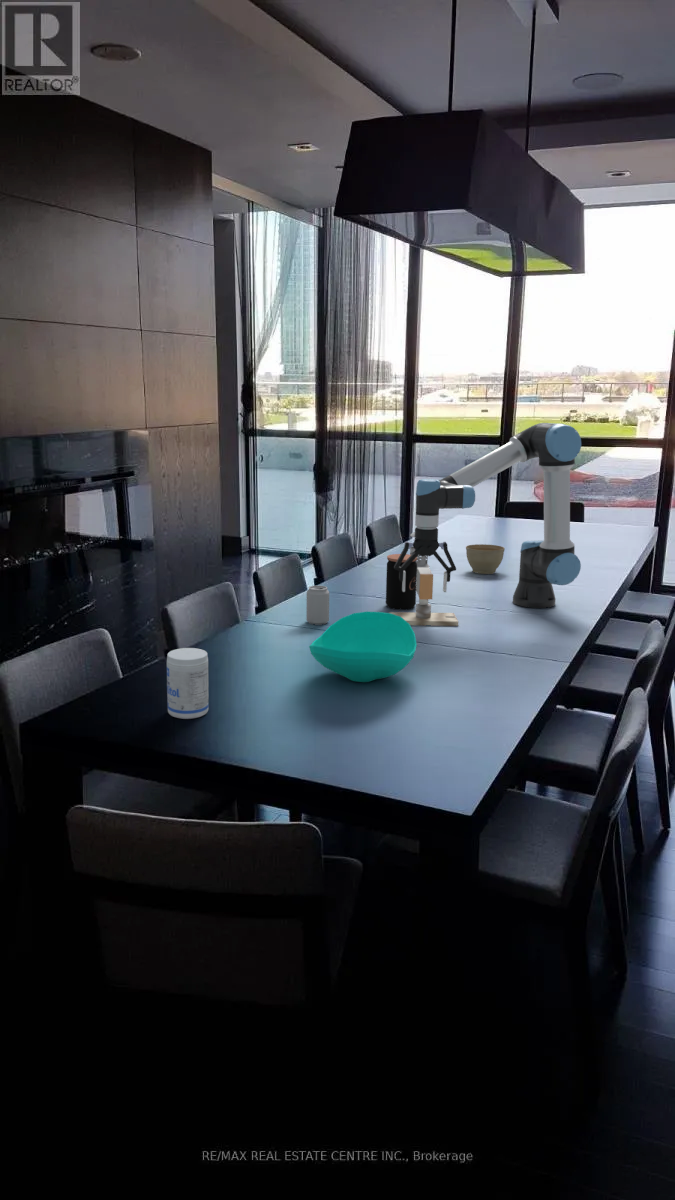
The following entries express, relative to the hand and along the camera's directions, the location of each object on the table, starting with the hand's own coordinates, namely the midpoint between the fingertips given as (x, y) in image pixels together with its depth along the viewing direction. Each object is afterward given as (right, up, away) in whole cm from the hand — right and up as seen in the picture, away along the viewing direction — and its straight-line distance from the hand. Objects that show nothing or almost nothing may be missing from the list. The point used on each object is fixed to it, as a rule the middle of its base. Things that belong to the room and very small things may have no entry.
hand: (424, 591), depth 284 cm
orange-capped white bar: (0, -4, +1) cm, 4 cm away
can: (-35, -10, -1) cm, 37 cm away
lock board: (0, -10, +2) cm, 10 cm away
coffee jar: (-6, -5, +21) cm, 23 cm away
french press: (+7, +12, +91) cm, 92 cm away
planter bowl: (+34, +9, +81) cm, 88 cm away
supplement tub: (-64, -30, -81) cm, 107 cm away
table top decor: (-22, -24, -54) cm, 63 cm away
